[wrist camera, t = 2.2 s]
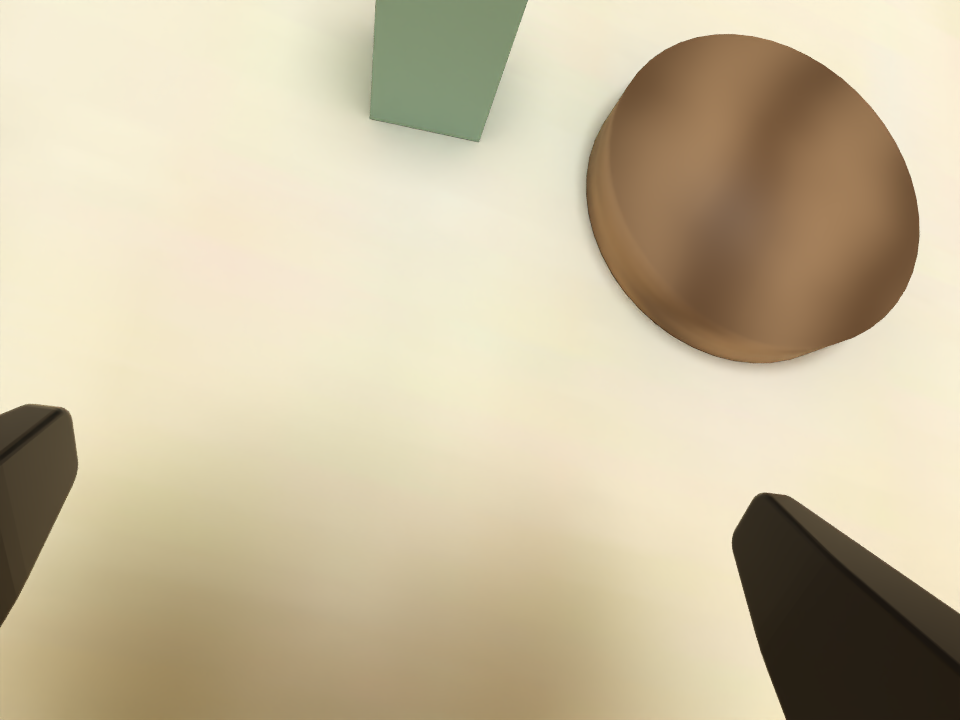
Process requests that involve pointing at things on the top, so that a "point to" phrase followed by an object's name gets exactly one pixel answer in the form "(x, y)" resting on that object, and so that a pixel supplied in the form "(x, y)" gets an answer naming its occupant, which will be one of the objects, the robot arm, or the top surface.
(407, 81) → the sage green post
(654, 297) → the walnut base
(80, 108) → the top surface
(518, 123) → the top surface
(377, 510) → the top surface
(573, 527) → the top surface
